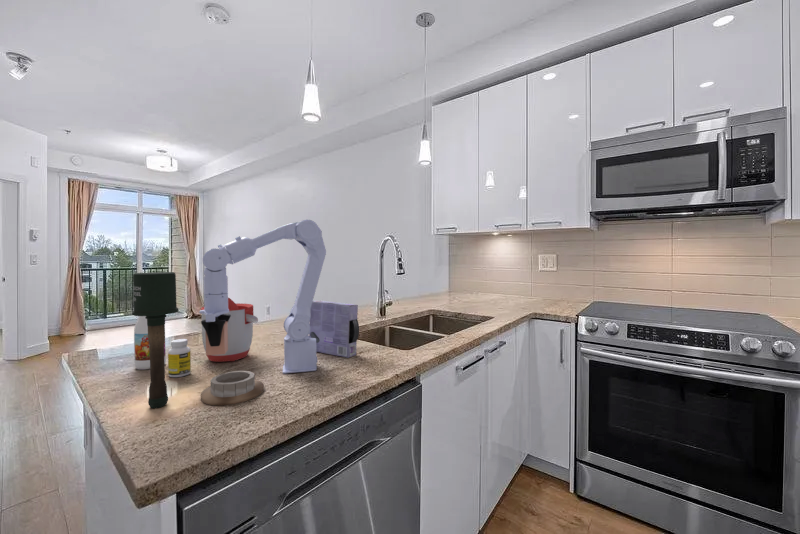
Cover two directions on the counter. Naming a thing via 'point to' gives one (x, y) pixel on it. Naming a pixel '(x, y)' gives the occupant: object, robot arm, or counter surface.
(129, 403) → the counter surface
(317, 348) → the cake pan box
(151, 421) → the counter surface
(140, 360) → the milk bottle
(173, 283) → the potato masher grenade
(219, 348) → the peg
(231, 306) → the citrus juicer
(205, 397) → the collar
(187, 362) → the supplement bottle
